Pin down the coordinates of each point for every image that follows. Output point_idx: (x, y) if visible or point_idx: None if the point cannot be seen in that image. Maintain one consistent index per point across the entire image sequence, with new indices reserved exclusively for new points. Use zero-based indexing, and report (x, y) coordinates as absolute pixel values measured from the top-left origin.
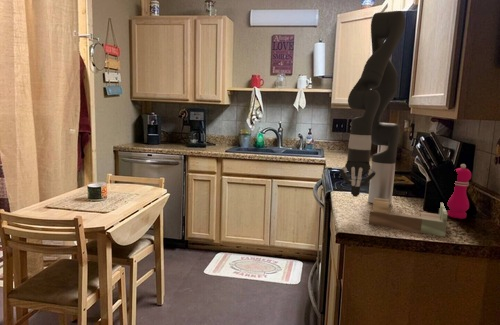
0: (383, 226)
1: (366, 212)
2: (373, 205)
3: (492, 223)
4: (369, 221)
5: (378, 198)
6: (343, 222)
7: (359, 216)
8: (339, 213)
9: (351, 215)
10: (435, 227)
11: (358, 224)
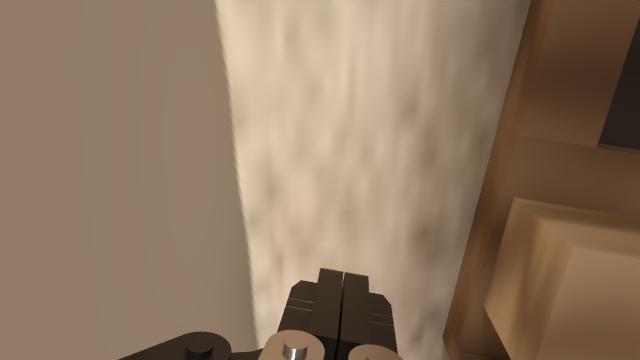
0: None
1: (466, 31)
2: (513, 356)
3: None
4: (449, 350)
5: (614, 270)
6: None
7: (395, 175)
8: (247, 151)
9: (336, 171)
10: None
11: None
